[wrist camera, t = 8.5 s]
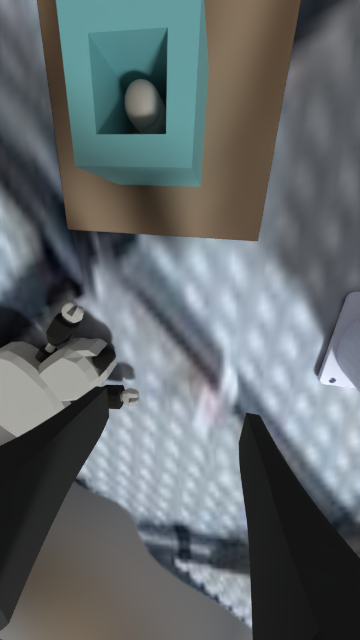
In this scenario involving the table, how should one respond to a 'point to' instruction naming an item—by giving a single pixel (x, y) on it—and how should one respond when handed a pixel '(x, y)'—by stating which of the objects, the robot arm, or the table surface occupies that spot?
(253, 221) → the stub base
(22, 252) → the table surface
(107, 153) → the collar
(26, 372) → the robot toy
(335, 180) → the table surface
